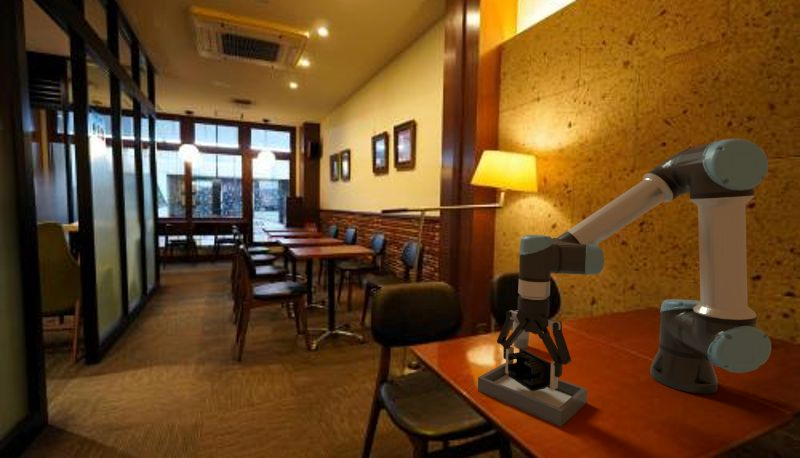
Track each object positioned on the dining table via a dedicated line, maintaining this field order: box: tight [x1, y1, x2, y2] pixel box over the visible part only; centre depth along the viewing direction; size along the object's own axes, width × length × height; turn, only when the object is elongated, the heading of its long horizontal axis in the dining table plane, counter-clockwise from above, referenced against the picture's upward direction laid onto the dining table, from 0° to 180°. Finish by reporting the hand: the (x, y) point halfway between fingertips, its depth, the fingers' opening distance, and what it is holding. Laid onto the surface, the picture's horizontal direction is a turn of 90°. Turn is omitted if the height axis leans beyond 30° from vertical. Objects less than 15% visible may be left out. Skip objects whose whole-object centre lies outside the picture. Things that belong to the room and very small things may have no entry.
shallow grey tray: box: [477, 362, 588, 428], centre depth 95 cm, size 22×15×4 cm
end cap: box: [508, 348, 552, 391], centre depth 95 cm, size 10×7×7 cm
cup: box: [512, 309, 531, 350], centre depth 130 cm, size 7×7×12 cm
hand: (530, 379), depth 95 cm, fingers closed on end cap, 11 cm apart
